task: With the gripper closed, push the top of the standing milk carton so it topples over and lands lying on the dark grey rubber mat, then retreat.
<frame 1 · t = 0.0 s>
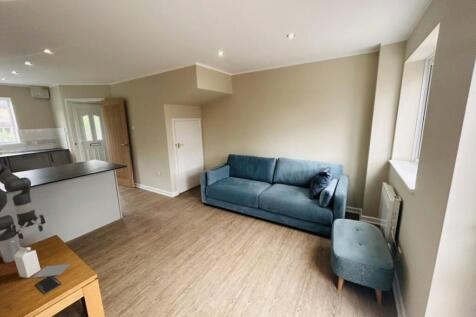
hand: (31, 234, 120), 29 cm above the table, fingers open, 8 cm apart
mat: (52, 271, 130), on the table
phone: (48, 285, 118), on the table
milk carton: (30, 273, 129), on the table
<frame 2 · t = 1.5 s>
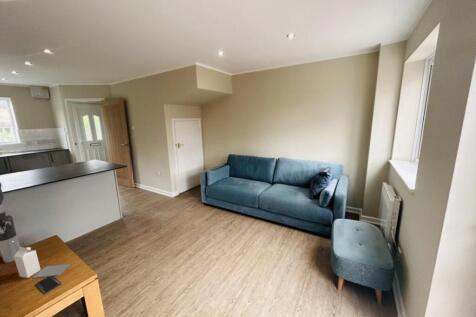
hand: (2, 237, 123), 27 cm above the table, fingers open, 3 cm apart
nothing on the table moved.
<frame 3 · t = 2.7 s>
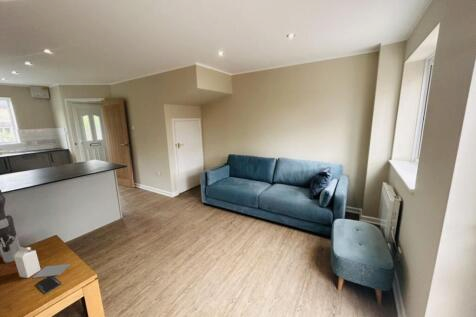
hand: (6, 251, 124), 17 cm above the table, fingers closed
nothing on the table moved.
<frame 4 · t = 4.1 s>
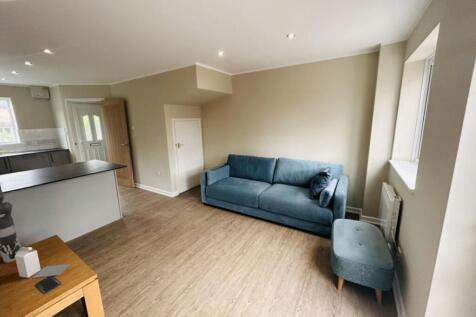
hand: (13, 258, 125), 12 cm above the table, fingers closed
milk carton: (30, 273, 128), on the table, touching hand
everything else where it was.
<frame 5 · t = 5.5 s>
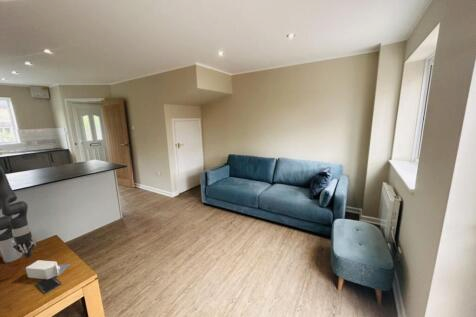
hand: (28, 257, 126), 12 cm above the table, fingers closed
milk carton: (32, 268, 127), point 4 cm above the table, touching mat
everything else where it was.
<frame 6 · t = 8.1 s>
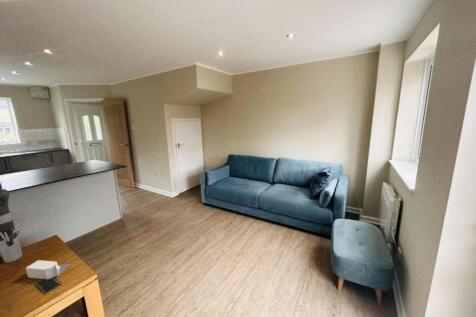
hand: (10, 245, 125), 21 cm above the table, fingers closed
nothing on the table moved.
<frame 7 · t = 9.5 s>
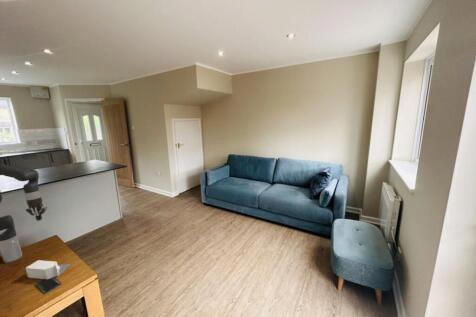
hand: (39, 220, 140), 29 cm above the table, fingers closed
nothing on the table moved.
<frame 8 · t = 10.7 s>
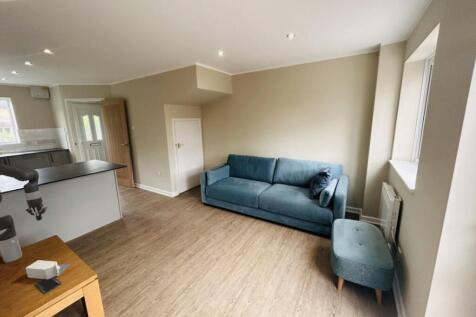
hand: (39, 220, 141), 29 cm above the table, fingers closed
nothing on the table moved.
at the end: milk carton tilted 90°; milk carton inside the target area (12.0 cm from its centre), point 4.1 cm above the table; milk carton touching mat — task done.
